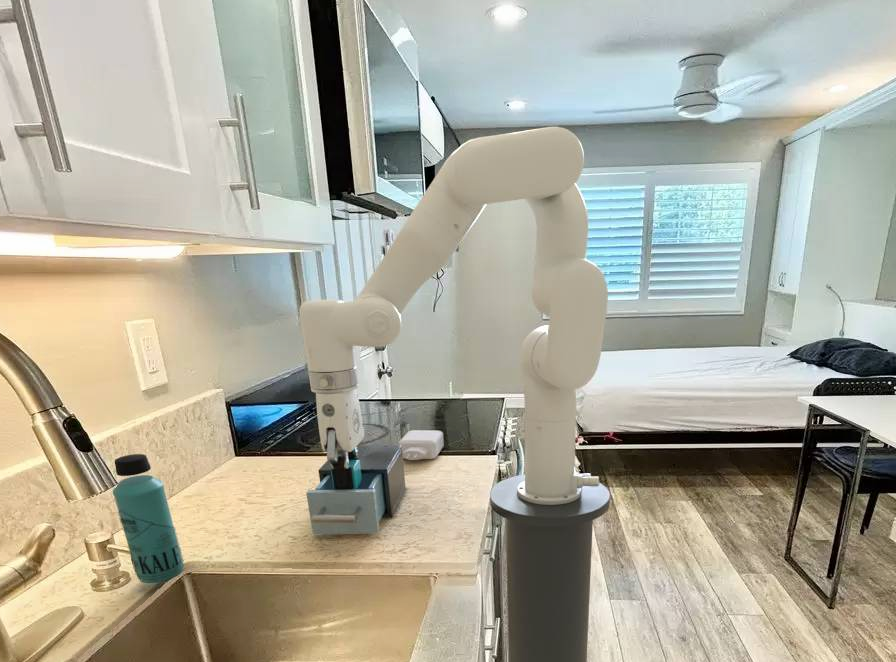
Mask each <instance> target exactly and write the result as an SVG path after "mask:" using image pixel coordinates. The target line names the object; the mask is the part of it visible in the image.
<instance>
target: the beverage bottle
mask: <svg viewBox="0 0 896 662" xmlns="http://www.w3.org/2000/svg"><path fill="white" fill-rule="evenodd" d="M114 466H115V473H116V475H117V476H120V477H127V478H123V479H122V480H120V481H119V482H117V484H118V485H117V484H116V485H117V487H116V486H115V487H116V488H115V487H114V488H113V489H112V495H113V496H114V500H115V503H116V507H117V511H118V512H117V516H118V517H119V522H120V525H121V527H122V530H123V534H124V537H125V540H126V542H127V543H126V544H127V548H128V551H129V555H130V557H129V558H130V561H131V564H132V567H133V570H134V575H136V578H137V579H138V580H139V582H141V583H143V584H158V583H159V584H160V583H163V582H167V581H169V580H172V579H174V578H176V577H178V576H179V575H180V574H182V572H183V571H184V568H185V567H184V566H185V564H184V558H183V554H182V550H181V547H180V542H179V538H178V534H177V532H176V527H175V526H174V523H173V518H172V514H171V511H170V507H169V503H168V499H167V494H166V490H165V486H164V482H163V481H162V480H161V479H159V478H157V477H155V476H153V475H150V474H144V473H147V472H148V471H150V470H151V469H152V467H151V464H150V463H149V459H148V457H147V455H146V454H142V453H135V454H127V455H123V456H120V457H117V458H116V459H114Z"/></svg>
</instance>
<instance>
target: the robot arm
mask: <svg viewBox="0 0 896 662" xmlns="http://www.w3.org/2000/svg"><path fill="white" fill-rule="evenodd" d="M584 165H585V154H584V148H583V145H582V143H581V141H580V140H579V138H578V137H577V135H576V134H574V133H573V132H572V131H571V130H569V129H567V128H565V127H561V126H546V127H539V128H533V129H528V130H527V129H526V130H522V131H515V132H514V131H513V132H510V133H502V134H494V135H487V136H480V137H475V138H472V139H470V140H467V141H466V142H464V143H462V144H461V145H460V146H459V147H458V148H457V149H455V150H454V151H453V152H452V153H451V154H450V155H449V156H448V158H447V159H446V160H445V162H443V164H442V166H441V168H440V169H439V171H438V172H437V174H436V175H435V177H434V178H433V180H432V181H431V183H430V184H429V186H428V187H427V189H426V190H425V192H424V194H423V195H422V197H421V198H420V200H419V201H418V202H417V204H416V206H415V207H414V208H413V210H412V212H411V213H410V215H409V216H408V218H407V219H406V221H405V222H404V224H403V226H402V227H401V228H400V230H399V232H398V233H397V234H396V235H395V238H394V240H393V241H392V243H391V245H390V246H389V248H388V250H387V251H386V252H385V254H384V256H383V257H382V259H381V261H380V262H379V264H378V265H377V267H375V270H374V271H373V273H372V274H371V275H370V277H369V278H368V280H367V282H366V283H365V284H364V286H363V288H362V289H361V291H360V292H359V294H358V295H357V296H356V298H355V300H351V301H344V300H341V299H335V298H334V299H333V298H332V299H313V300H306V301H304V302H302V303H301V304H300V306H299V320H300V326H301V333H302V340H303V345H304V346H303V347H304V352H305V353H304V354H305V358H306V365H307V372H308V378H309V385H310V391H311V392H312V393H315V402H316V414H317V416H316V417H317V424H318V433H319V439H320V444H321V449H322V450H323V451H324V452H325V453H326V461H327V460H328V461H330V464H331V469H332V475H333V482H334V488H335V490H352V489H353V488H354V485H353V477H352V470H351V467H349V460H359V459H358V458H355V457H358V451H357V446H359V445H360V443H361V442H362V441H363V439H364V438H365V429H364V422H363V421H364V420H363V415H362V411H361V405H360V398H359V395H358V394H359V393H358V391H357V389H358V388H359V379H358V372H357V371H358V370H357V366H356V363H357V362H356V355H355V347H369V348H383V347H386V346H388V345H390V344H392V343H393V342H395V341H396V340H397V339H398V337H399V336H400V333H401V332H402V331H401V330H402V317H401V315H402V313H403V312H404V310H405V309H406V307H407V305H408V304H409V303H410V301H411V300H412V299H413V297H414V296H415V294H416V293H417V292H418V291H419V290H420V288H421V287H422V286H423V285H424V284H425V283H427V281H428V280H430V278H432V277H434V276H435V275H437V274H438V273H439V272H440V271H441V270H442V269H443V268H444V267H445V266H446V265H447V264H448V263H449V261H450V260H451V258H452V257H453V256H454V254H455V252H456V250H457V249H458V248H459V246H460V245H461V243H462V241H463V240H464V239H465V237H466V236H467V234H468V232H469V231H470V230H471V228H472V226H473V225H474V224H475V223H476V221H477V219H478V218H479V217H480V215H481V213H482V212H483V210H484V209H485V208H486V207H487V205H490V204H498V203H505V202H511V201H518V200H525V201H526V202H527V204H528V206H529V207H530V209H531V210H532V213H533V215H534V219H535V225H536V226H535V227H536V237H535V238H536V241H535V253H534V255H535V256H534V266H533V277H532V284H531V298H532V302H533V305H534V306H535V308H536V309H537V310H538V312H540V313H541V314H542V315H545V316H546V317H548V325H541V326H539V327H537V328H535V329H533V330H532V331H531V332H530V333H528V335H527V336H526V338H525V339H524V341H523V343H522V345H521V350H520V368H521V376H522V384H523V396H524V397H523V398H524V474H525V481H523V482H522V483H520V484H519V485H518V487H517V494H518V496H519V497H520V498H521V499H523V500H525V501H527V502H530V503H534V504H540V505H560V504H566V503H570V502H573V501H575V500H577V499H578V498H579V497H580V496H581V495H582V486H599V483H600V478H599V476H598V475H597V476H596V475H595V476H592V474H591V473H587V472H586V473H579V471H578V472H577V470H576V467H575V458H576V457H575V456H576V427H577V393H576V392H577V391H576V390H579V389H581V388H583V387H584V386H586V385H587V384H589V383H590V381H591V380H592V379H593V377H594V375H595V374H596V372H597V370H598V367H599V364H600V360H601V355H602V347H603V340H604V333H605V327H606V318H607V310H608V299H609V298H608V297H609V294H608V292H609V291H608V285H607V281H606V278H605V275H604V274H603V271H602V270H601V269H600V268H599V266H598V265H596V264H595V263H594V262H592V261H590V260H587V251H588V239H589V238H588V237H589V216H588V210H587V205H586V202H585V200H584V196H583V195H582V192H581V191H580V189H579V187H578V185H577V184H576V183H577V182H578V181H579V179H580V177H581V175H582V172H583V169H584ZM339 448H340V450H338V449H339ZM338 454H341V456H338Z"/></svg>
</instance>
